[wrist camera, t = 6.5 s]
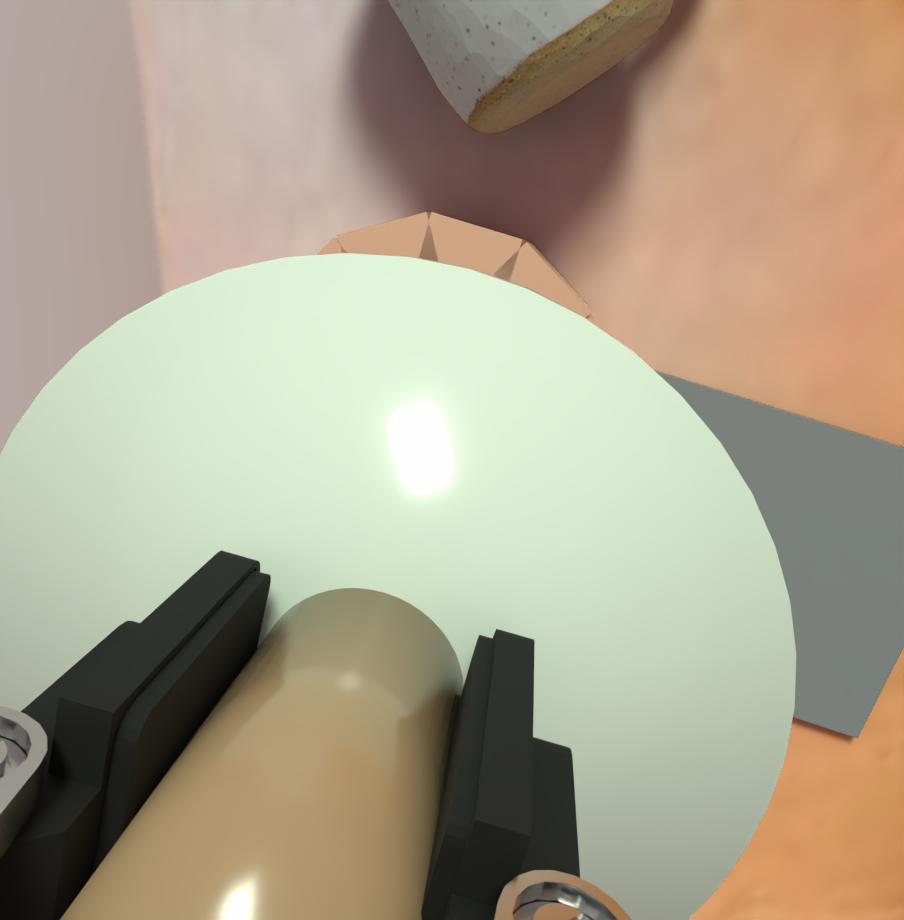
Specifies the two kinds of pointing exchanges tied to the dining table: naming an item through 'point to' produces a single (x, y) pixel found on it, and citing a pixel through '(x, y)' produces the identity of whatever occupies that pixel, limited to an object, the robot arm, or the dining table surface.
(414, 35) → the ceramic mug
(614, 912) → the robot arm
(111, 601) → the lid
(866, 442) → the placemat
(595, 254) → the dining table surface
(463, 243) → the round wooden tub
